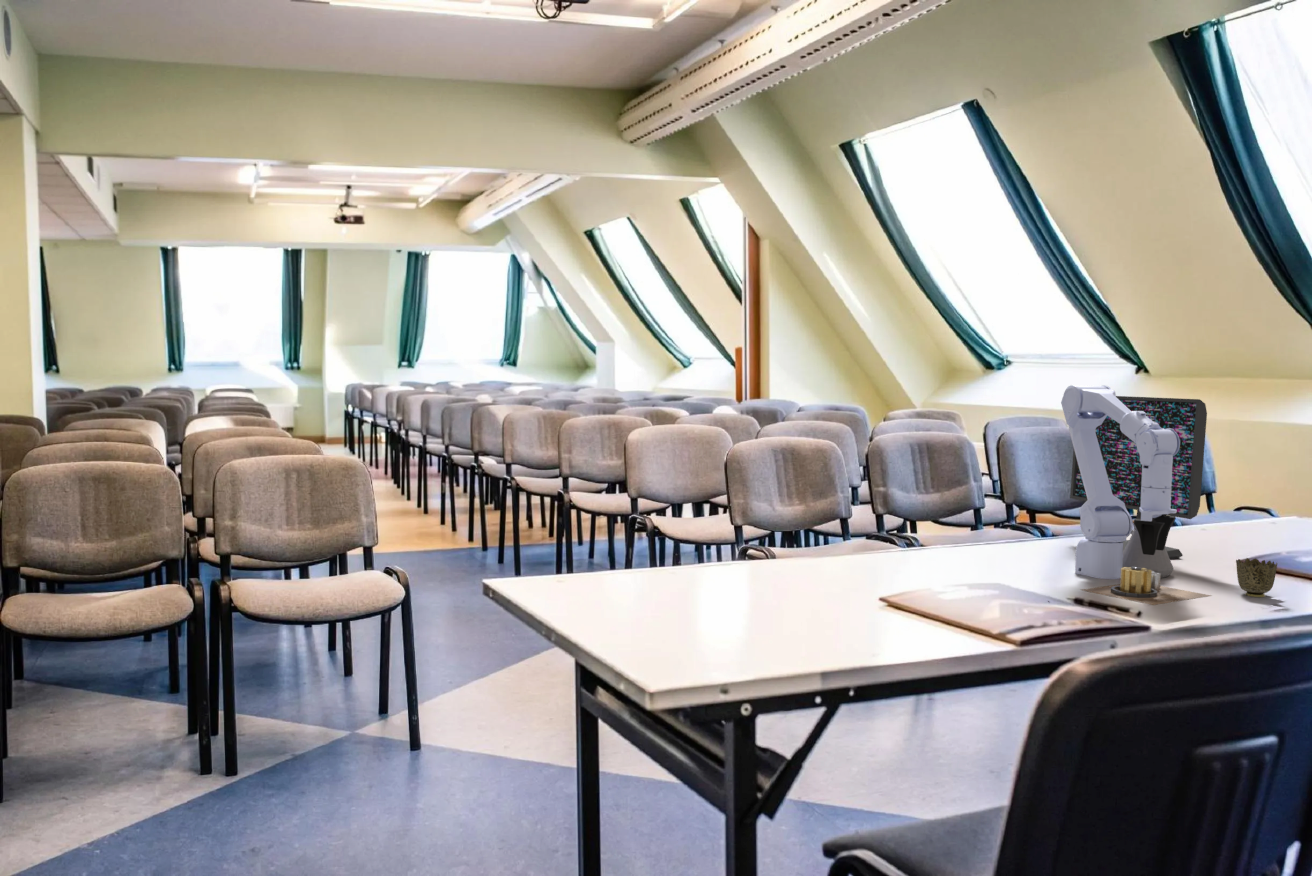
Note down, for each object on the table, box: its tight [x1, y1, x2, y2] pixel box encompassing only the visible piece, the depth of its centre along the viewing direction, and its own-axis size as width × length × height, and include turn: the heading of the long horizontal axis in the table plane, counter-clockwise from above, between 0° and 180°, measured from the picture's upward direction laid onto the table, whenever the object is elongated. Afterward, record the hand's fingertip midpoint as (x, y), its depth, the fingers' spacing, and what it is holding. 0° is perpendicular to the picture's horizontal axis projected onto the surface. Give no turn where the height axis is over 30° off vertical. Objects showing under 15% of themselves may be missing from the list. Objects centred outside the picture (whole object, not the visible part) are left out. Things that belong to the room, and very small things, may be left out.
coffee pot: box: [1122, 519, 1174, 579], centre depth 258 cm, size 21×12×15 cm, turn 33°
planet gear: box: [1119, 567, 1152, 593], centre depth 231 cm, size 6×6×5 cm
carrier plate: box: [1081, 583, 1213, 606], centre depth 233 cm, size 17×19×1 cm
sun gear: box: [1151, 571, 1161, 590], centre depth 239 cm, size 7×7×4 cm
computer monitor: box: [1069, 395, 1208, 560], centre depth 286 cm, size 44×16×40 cm, turn 17°
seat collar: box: [1111, 586, 1157, 598], centre depth 231 cm, size 9×9×1 cm
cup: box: [1235, 557, 1278, 598], centre depth 231 cm, size 8×7×8 cm
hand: (1153, 552), depth 236 cm, fingers open, 7 cm apart
